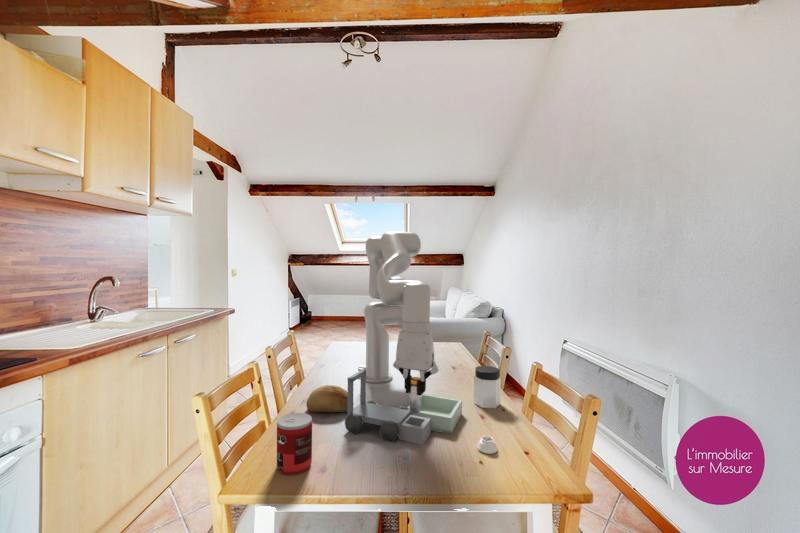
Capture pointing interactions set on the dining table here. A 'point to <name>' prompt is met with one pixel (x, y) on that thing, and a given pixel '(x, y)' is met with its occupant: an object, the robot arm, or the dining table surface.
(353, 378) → the trolley
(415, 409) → the stop pin
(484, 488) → the dining table surface
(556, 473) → the dining table surface
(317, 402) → the bread roll
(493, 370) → the jar
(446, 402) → the tray
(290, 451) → the canned food
